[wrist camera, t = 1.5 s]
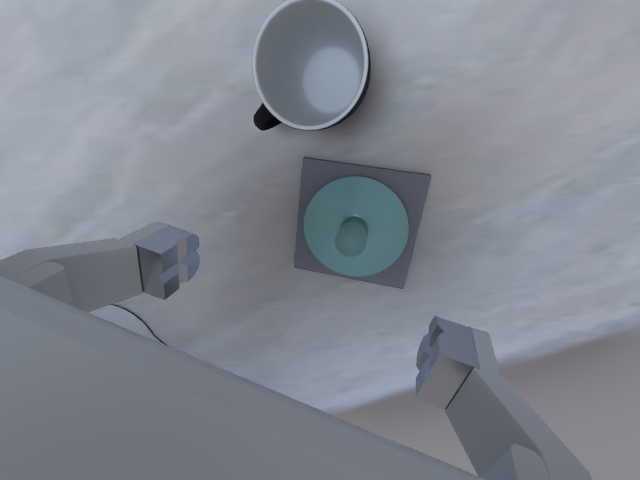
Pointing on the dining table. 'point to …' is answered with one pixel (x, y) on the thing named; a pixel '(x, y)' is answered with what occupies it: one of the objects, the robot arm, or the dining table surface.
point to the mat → (401, 182)
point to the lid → (356, 226)
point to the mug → (309, 65)
